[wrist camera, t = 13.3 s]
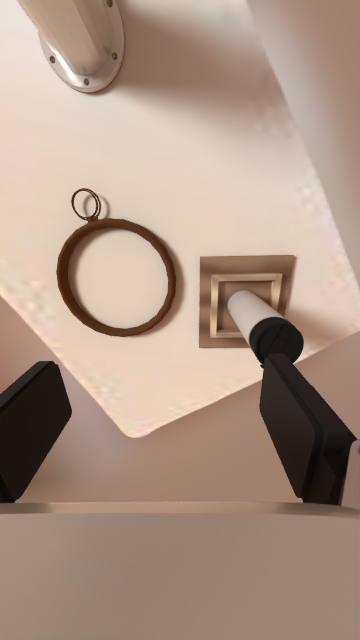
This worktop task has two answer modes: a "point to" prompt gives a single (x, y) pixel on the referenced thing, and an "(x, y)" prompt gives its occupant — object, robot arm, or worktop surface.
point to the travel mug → (264, 327)
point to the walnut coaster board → (230, 276)
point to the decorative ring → (87, 229)
